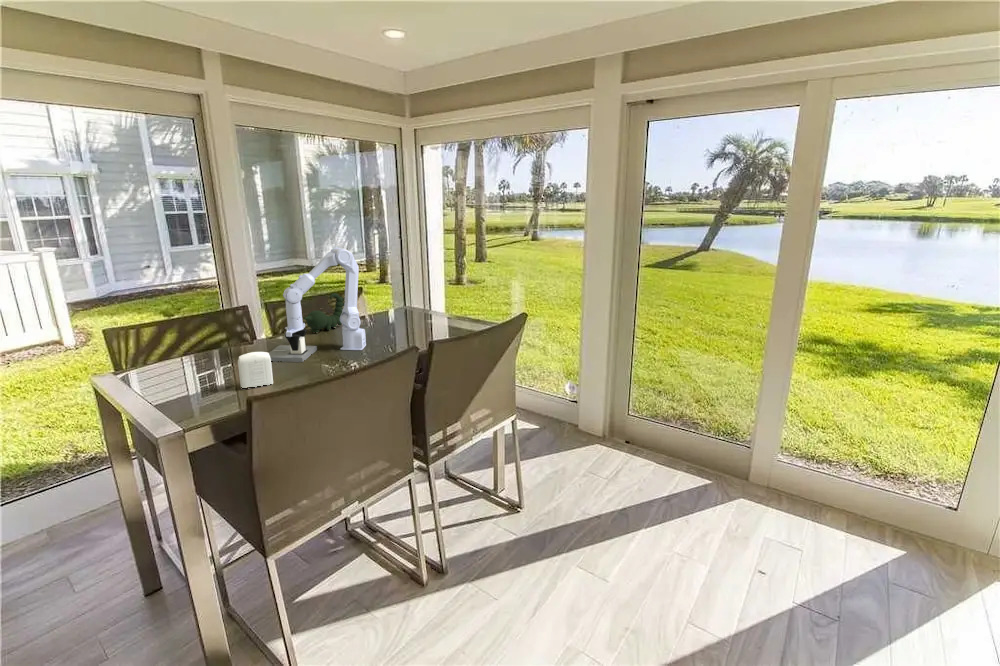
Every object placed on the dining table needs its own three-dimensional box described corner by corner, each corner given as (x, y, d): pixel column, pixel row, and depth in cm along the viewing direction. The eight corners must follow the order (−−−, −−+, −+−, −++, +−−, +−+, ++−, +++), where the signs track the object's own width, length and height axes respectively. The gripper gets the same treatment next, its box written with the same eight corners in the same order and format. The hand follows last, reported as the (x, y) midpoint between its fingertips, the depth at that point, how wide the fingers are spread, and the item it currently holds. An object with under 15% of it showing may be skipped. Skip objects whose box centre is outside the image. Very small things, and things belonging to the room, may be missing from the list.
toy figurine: (335, 326, 245) (297, 334, 222) (335, 291, 241) (296, 294, 219) (349, 329, 241) (311, 336, 219) (349, 293, 237) (310, 297, 215)
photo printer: (272, 381, 167) (268, 348, 164) (274, 385, 164) (270, 351, 160) (240, 386, 162) (235, 353, 158) (241, 390, 158) (236, 356, 155)
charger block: (305, 350, 195) (304, 335, 193) (301, 353, 191) (300, 338, 189) (295, 350, 195) (293, 335, 193) (290, 353, 191) (289, 338, 189)
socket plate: (317, 349, 202) (316, 345, 202) (302, 362, 187) (302, 357, 186) (280, 349, 202) (279, 344, 201) (262, 361, 186) (262, 356, 186)
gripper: (292, 312, 196) (295, 343, 199) (276, 321, 182) (280, 353, 185) (308, 312, 196) (311, 343, 200) (294, 321, 182) (298, 354, 186)
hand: (297, 348), depth 193 cm, fingers closed on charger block, 4 cm apart
